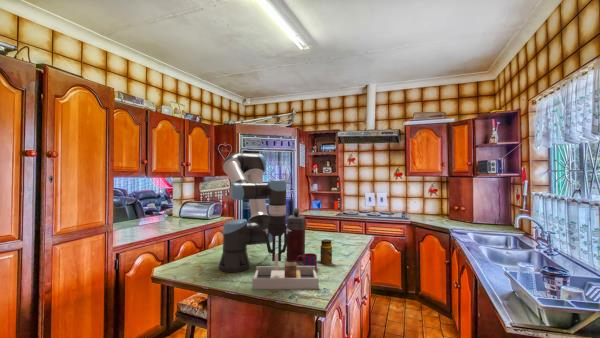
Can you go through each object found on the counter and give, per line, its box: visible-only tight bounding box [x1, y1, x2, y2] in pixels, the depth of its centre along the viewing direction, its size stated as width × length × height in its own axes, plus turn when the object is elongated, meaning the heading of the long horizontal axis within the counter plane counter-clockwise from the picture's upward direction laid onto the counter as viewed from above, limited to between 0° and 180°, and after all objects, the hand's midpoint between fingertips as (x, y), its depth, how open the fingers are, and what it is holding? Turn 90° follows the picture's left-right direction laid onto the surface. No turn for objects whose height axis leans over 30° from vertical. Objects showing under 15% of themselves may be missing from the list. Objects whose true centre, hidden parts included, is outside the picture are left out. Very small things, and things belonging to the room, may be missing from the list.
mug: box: [296, 252, 318, 271], centre depth 138 cm, size 7×10×7 cm
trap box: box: [251, 265, 320, 290], centre depth 121 cm, size 27×16×4 cm, turn 93°
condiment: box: [317, 239, 335, 267], centre depth 146 cm, size 7×8×12 cm
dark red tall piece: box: [283, 207, 306, 263], centre depth 154 cm, size 9×11×28 cm
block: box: [284, 261, 297, 278], centre depth 121 cm, size 5×5×5 cm
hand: (276, 268), depth 121 cm, fingers closed
